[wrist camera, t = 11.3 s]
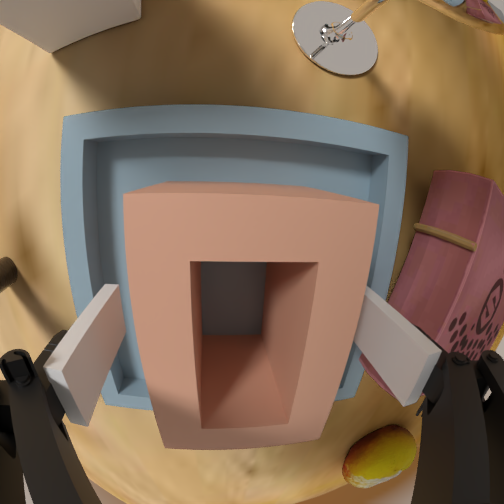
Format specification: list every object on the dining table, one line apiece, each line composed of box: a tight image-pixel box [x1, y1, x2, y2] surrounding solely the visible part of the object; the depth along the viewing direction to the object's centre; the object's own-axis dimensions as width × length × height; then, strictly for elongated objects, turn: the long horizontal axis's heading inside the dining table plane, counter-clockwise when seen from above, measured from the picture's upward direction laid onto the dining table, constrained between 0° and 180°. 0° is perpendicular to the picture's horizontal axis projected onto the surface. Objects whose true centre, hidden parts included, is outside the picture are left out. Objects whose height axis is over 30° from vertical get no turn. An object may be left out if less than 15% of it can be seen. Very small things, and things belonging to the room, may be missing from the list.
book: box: [359, 170, 504, 401], centre depth 17 cm, size 14×15×5 cm
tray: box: [61, 104, 408, 410], centre depth 16 cm, size 20×20×2 cm
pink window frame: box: [123, 181, 379, 450], centre depth 14 cm, size 14×8×8 cm, turn 177°
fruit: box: [342, 425, 417, 488], centre depth 25 cm, size 11×10×8 cm
